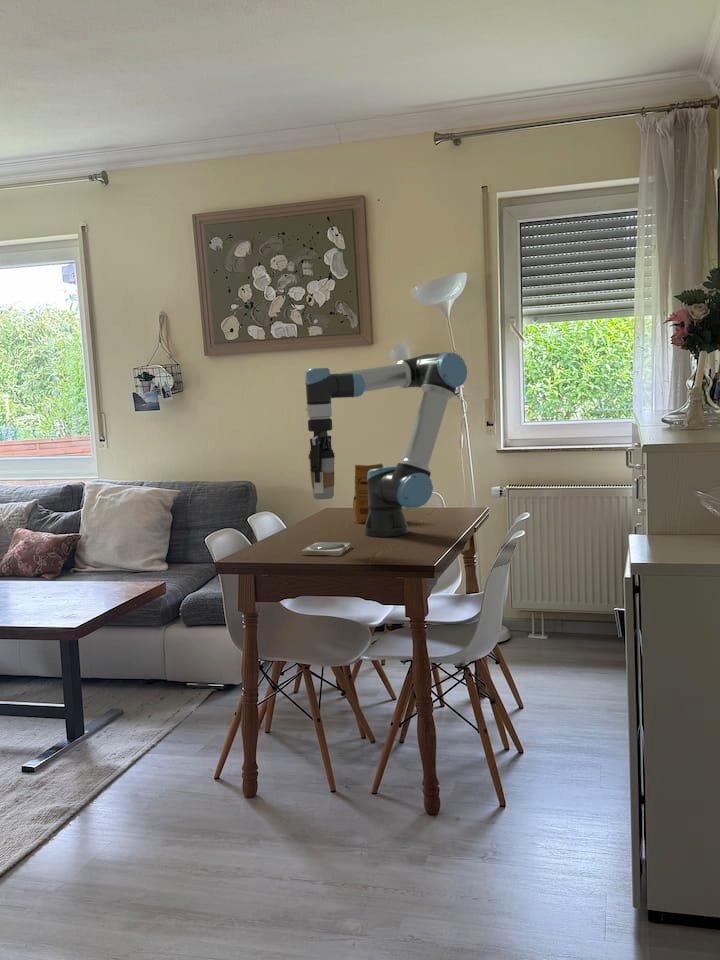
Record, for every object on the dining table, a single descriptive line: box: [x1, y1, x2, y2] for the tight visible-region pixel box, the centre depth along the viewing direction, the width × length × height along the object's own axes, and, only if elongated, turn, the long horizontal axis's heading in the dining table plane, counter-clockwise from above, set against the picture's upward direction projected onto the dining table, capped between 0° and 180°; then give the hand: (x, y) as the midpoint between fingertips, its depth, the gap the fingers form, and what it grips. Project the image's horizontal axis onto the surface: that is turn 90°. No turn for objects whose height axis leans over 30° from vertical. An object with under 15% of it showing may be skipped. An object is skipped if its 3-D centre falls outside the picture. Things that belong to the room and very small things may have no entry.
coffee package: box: [352, 463, 384, 524], centre depth 326 cm, size 10×12×22 cm
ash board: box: [301, 541, 353, 557], centre depth 270 cm, size 14×12×2 cm
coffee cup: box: [308, 449, 336, 500], centre depth 268 cm, size 8×8×15 cm
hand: (323, 491), depth 269 cm, fingers closed on coffee cup, 7 cm apart
